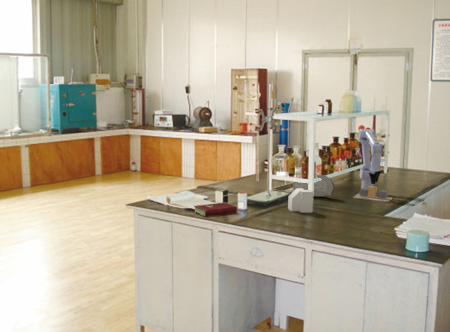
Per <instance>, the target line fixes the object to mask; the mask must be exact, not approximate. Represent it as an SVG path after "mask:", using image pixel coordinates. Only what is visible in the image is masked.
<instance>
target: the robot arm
mask: <svg viewBox="0 0 450 332" xmlns="http://www.w3.org/2000/svg"><path fill="white" fill-rule="evenodd" d="M375 132H376V131H375V129H373V128H371V129H369V128H360V129H359V130H358V141H359V143H360V144H361V150H362V161H363V165H362V166H361V167H360V168H359V177H360V178H359V179H361V187H360V189H361V188H366V189H368V187H369V186H374V185H375V184H376V183H378V182H379V177H380V176H381V174H382V171H381V157H382V153H383V152H384V151H383V150H384V148H383V147H384V146H383V144H382V143H379V141H378V139H377V138H375V135H376V134H375ZM370 152H371V153H370Z"/></svg>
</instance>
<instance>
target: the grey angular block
mask: <svg viewBox="0 0 450 332" xmlns="http://www.w3.org/2000/svg"><path fill="white" fill-rule="evenodd" d="M313 204H314V196H313V191H311V190H304V189H302V188H296V189H295V190H293V191H292V192H291V193H290V194H289V195H288V200H287V209H288V210H289V211H290V212H300V213H303V214H304V213H313Z"/></svg>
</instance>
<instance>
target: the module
mask: <svg viewBox="0 0 450 332" xmlns="http://www.w3.org/2000/svg"><path fill="white" fill-rule="evenodd" d="M377 195H378V187H377V186H374V185H373V186H369V187H368V196H371V197H376V196H377Z"/></svg>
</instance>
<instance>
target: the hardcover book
mask: <svg viewBox="0 0 450 332" xmlns="http://www.w3.org/2000/svg"><path fill="white" fill-rule="evenodd" d="M194 212H195V213H196V212H197V213H196V214H198V213H199V215H201V216H203V215H204V217H205V216H206V217H212V216H213V217H214V216H219V215H220V216H221V215H229V214H237V213H238V206H237V205H234V204H232V203H229V202H226V201H225V202H224V201H223V202H215V203H208V204H199V205H194Z"/></svg>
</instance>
